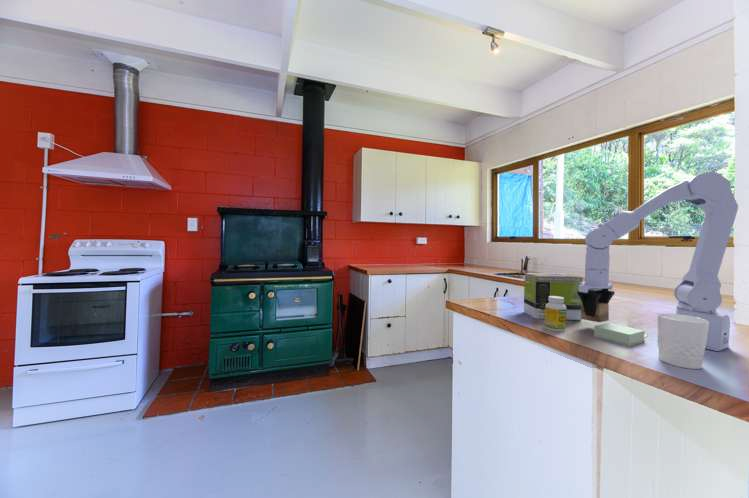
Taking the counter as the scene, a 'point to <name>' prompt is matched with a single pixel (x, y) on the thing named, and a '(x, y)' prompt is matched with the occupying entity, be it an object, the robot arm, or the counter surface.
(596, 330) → the base brick
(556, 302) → the supplement bottle
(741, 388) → the counter surface
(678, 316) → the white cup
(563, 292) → the tea box
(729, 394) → the counter surface
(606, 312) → the walnut brick
